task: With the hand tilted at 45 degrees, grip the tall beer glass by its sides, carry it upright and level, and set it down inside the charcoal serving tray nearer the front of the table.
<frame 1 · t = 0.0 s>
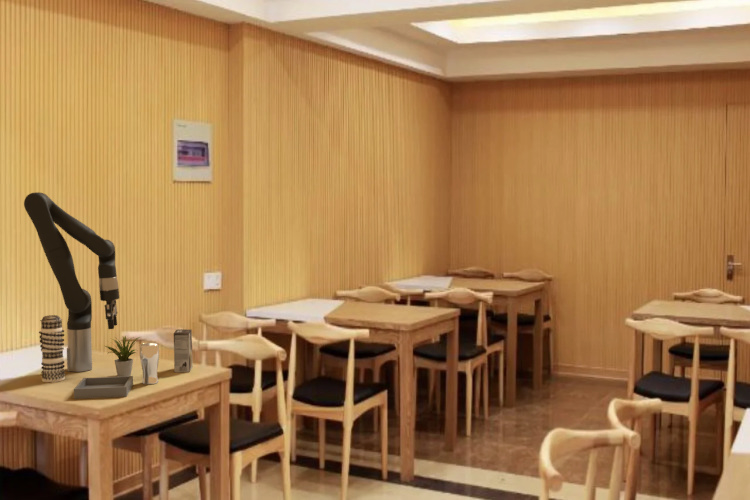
hand: (112, 327, 350), 17 cm above the table, tool pointing down, fingers open, 8 cm apart
coffee box: (183, 370, 347), on the table
serving tray: (104, 391, 311), on the table
house plant: (126, 375, 339), on the table
decorative candle: (53, 380, 331), on the table
beer glass: (150, 383, 325), on the table
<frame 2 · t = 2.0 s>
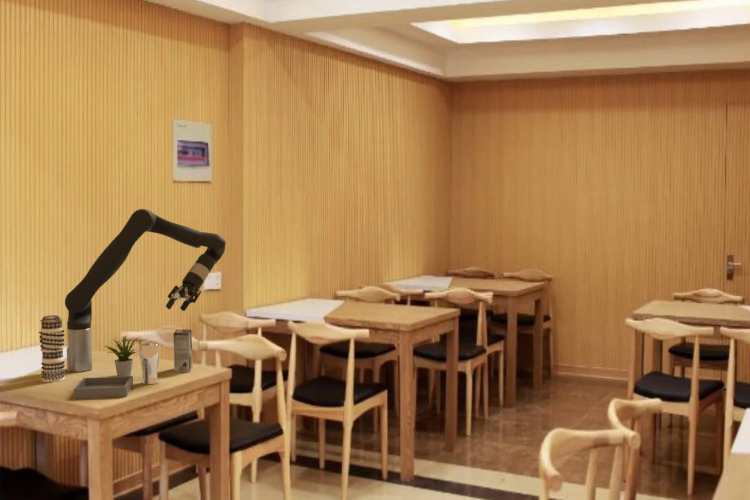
hand: (174, 308, 333), 27 cm above the table, tool tilted 45°, fingers open, 8 cm apart
nothing on the table moved.
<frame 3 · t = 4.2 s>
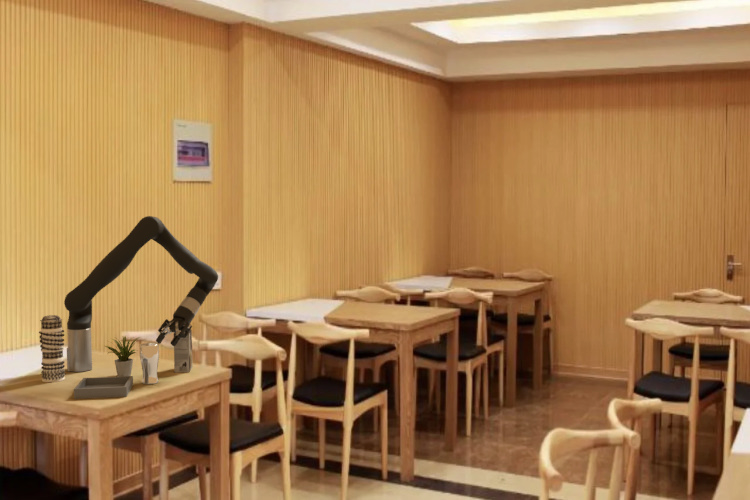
hand: (164, 343, 330), 14 cm above the table, tool tilted 45°, fingers open, 8 cm apart
nothing on the table moved.
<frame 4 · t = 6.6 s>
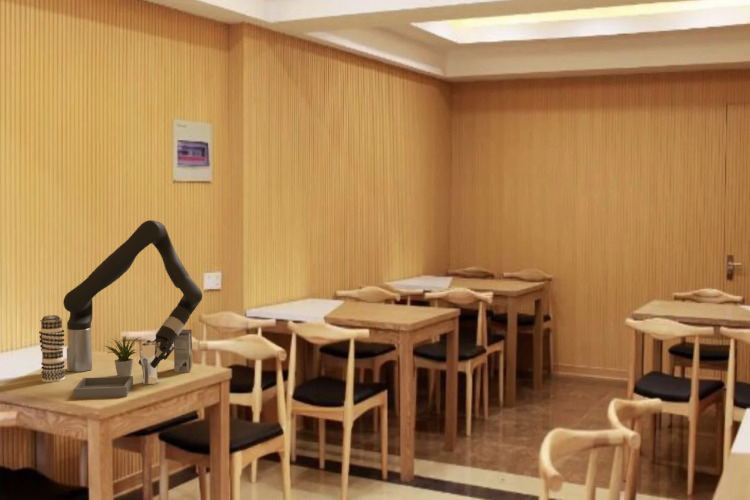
hand: (146, 365, 323), 7 cm above the table, tool tilted 45°, fingers closed on beer glass, 6 cm apart
beer glass: (150, 383, 325), on the table, touching gripper
everything else where it was.
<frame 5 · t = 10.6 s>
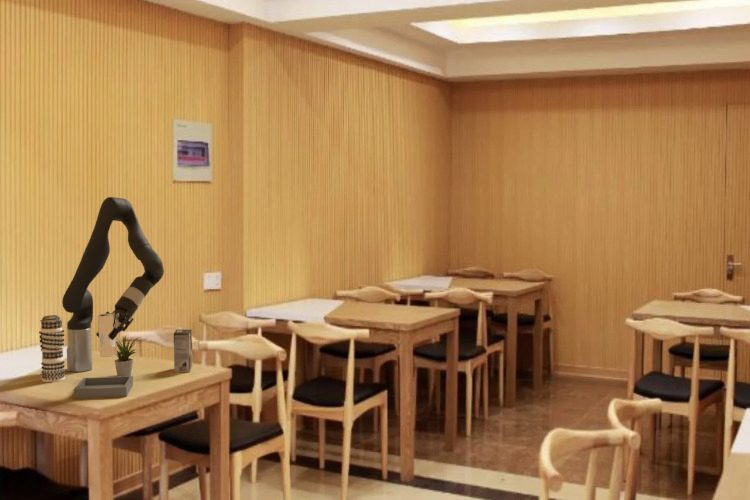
hand: (104, 337, 310), 20 cm above the table, tool tilted 45°, fingers closed on beer glass, 6 cm apart
beer glass: (108, 355, 311), point 13 cm above the table, touching gripper
everything else where it was.
when the fingers open (9 cm above the table, at t = 14.6 s): beer glass drops 1 cm, resting on serving tray.
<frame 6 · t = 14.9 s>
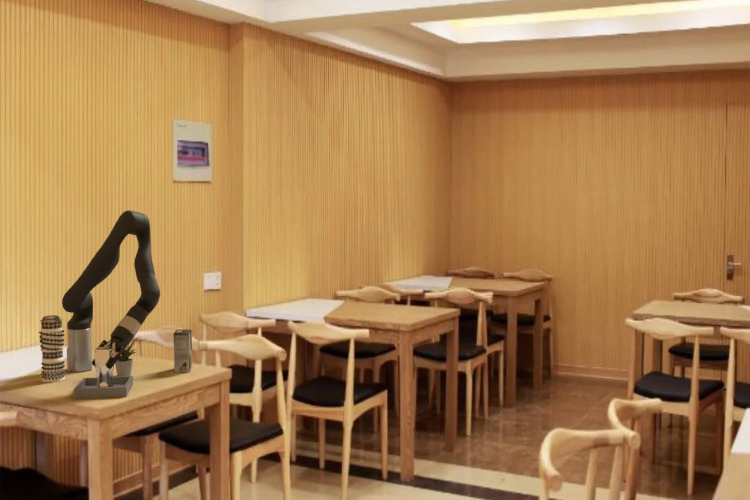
hand: (100, 366, 309), 10 cm above the table, tool tilted 45°, fingers open, 8 cm apart
beer glass: (104, 389, 311), point 1 cm above the table, touching serving tray
everything else where it was.
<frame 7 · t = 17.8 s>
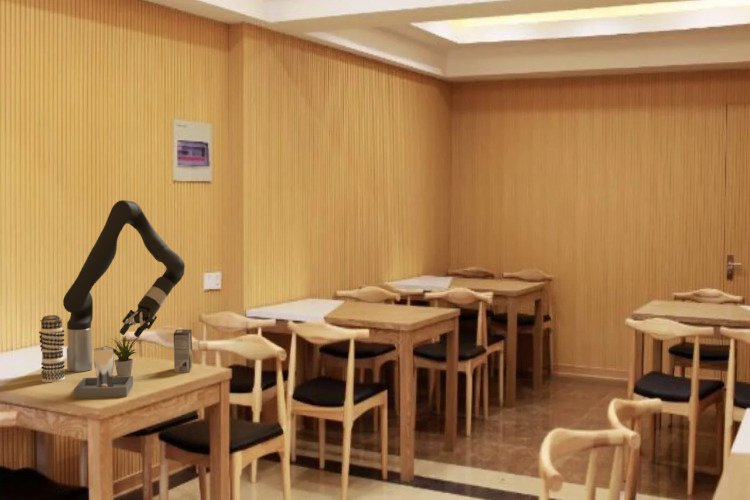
hand: (128, 334, 318), 19 cm above the table, tool tilted 45°, fingers open, 8 cm apart
nothing on the table moved.
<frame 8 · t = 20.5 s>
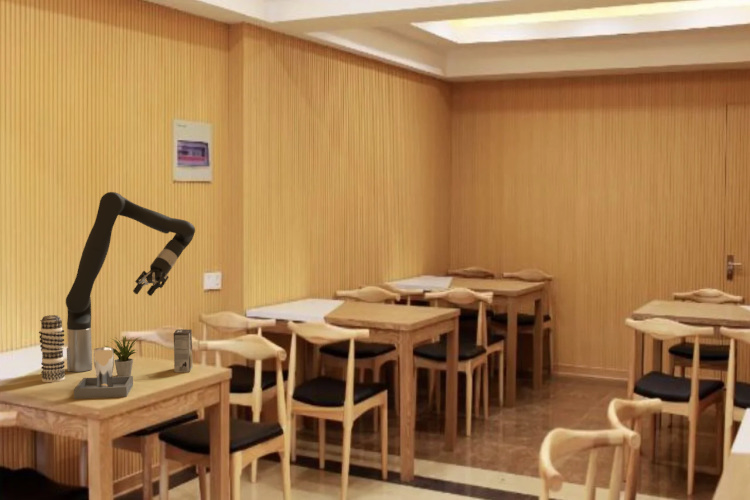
hand: (141, 293, 336), 33 cm above the table, tool tilted 45°, fingers open, 8 cm apart
nothing on the table moved.
at the end: beer glass inside the target area on the serving tray (0.1 cm from its centre), point 0.8 cm above the serving tray's base; beer glass tilted 0°; the gripper is holding nothing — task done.
